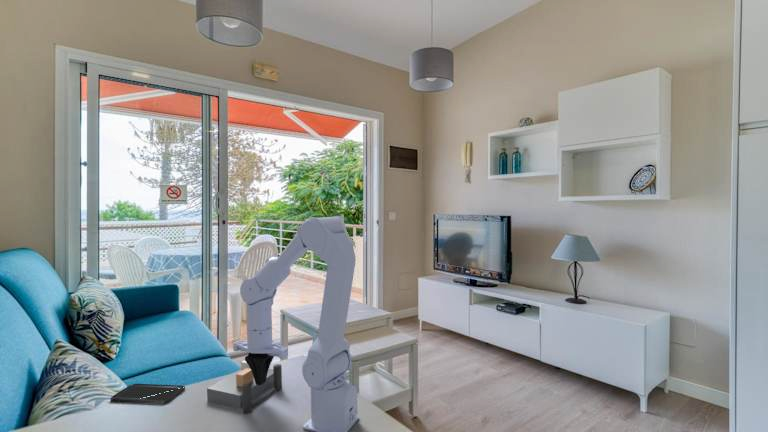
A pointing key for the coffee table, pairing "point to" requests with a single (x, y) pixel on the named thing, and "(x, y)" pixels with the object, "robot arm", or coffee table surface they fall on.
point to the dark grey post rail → (277, 387)
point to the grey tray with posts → (236, 389)
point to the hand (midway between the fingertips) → (260, 383)
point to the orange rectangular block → (244, 377)
